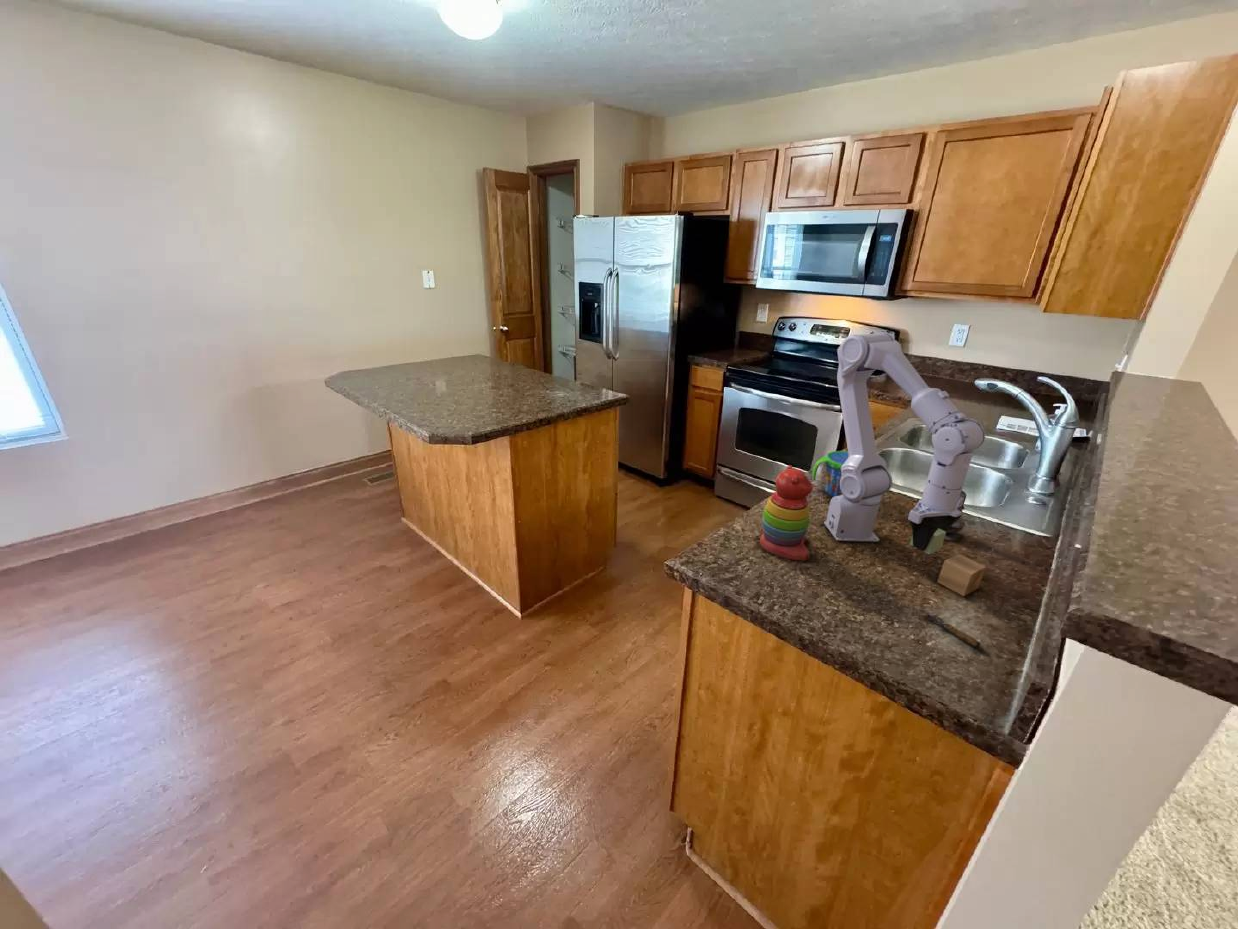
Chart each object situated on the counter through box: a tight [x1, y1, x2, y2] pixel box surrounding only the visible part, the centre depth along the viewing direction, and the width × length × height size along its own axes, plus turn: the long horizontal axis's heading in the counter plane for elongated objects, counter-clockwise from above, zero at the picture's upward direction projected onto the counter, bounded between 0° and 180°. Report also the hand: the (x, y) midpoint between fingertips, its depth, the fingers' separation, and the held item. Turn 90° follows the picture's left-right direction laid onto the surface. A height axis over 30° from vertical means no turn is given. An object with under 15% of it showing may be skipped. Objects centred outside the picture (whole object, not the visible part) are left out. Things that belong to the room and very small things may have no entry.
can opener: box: [927, 612, 981, 649], centre depth 86 cm, size 9×2×1 cm, turn 23°
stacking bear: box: [759, 465, 814, 562], centre depth 107 cm, size 11×10×18 cm
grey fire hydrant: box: [944, 489, 967, 541], centre depth 114 cm, size 6×6×12 cm
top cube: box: [909, 528, 946, 555], centre depth 100 cm, size 4×4×4 cm
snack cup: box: [811, 450, 867, 498], centre depth 132 cm, size 16×10×10 cm
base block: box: [937, 553, 986, 597], centre depth 98 cm, size 5×5×5 cm
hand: (925, 545), depth 101 cm, fingers closed on top cube, 4 cm apart
